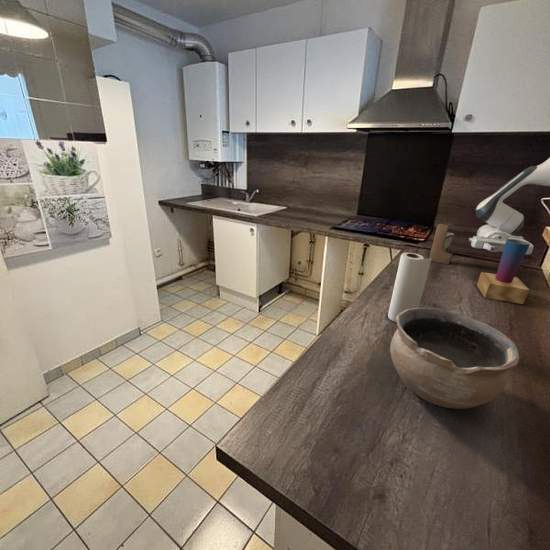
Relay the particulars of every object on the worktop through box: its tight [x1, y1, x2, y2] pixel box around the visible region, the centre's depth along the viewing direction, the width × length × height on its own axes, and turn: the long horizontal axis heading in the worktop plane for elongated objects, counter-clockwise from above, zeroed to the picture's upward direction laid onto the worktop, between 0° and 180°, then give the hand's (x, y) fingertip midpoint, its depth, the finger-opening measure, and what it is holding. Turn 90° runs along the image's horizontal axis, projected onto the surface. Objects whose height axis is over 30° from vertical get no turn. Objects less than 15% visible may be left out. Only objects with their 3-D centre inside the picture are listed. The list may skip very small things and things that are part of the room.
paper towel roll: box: [387, 252, 432, 323], centre depth 88 cm, size 7×6×21 cm
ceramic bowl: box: [389, 307, 520, 410], centre depth 63 cm, size 22×22×15 cm
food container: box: [444, 232, 455, 252], centre depth 156 cm, size 12×6×10 cm, turn 130°
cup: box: [495, 239, 531, 283], centre depth 106 cm, size 7×7×15 cm
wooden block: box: [428, 223, 453, 265], centre depth 139 cm, size 9×4×18 cm, turn 53°
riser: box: [476, 271, 530, 305], centre depth 110 cm, size 12×12×6 cm
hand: (506, 250), depth 111 cm, fingers open, 8 cm apart
